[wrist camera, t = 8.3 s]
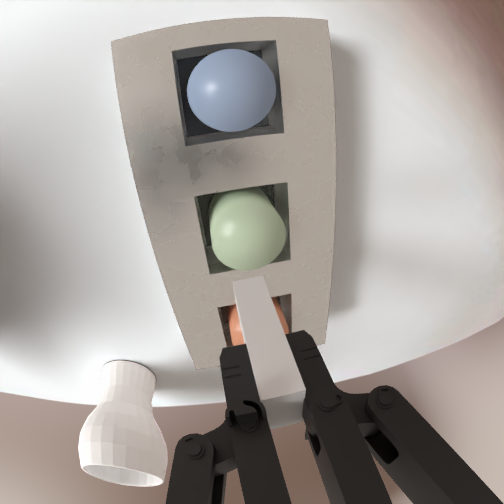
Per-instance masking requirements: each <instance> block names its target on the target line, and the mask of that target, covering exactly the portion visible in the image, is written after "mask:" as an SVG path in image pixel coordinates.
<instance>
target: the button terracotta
mask: <svg viewBox="0 0 504 504" xmlns="http://www.w3.org/2000/svg"><path fill="white" fill-rule="evenodd" d="M271 299H272V302H273V304H274V307H275V309H276V312H277V315H278V317H279V320H280V323H281V325H282V328H283V330H284V333H285V334H289V328H288V325H287V322H286V320H285V317H284V315H283V312H282V309H281V307H280V304H279V302H278V299H277V296H276V297H271ZM226 309H227V315H228V321H229V327H230V332H231V338H232V343H233V345H234V346H236V345H241V344H244V339H243V335H242V331H241V326H240V322H239V317H238V311H237V306H236V304H234V305H228V306H226Z"/></svg>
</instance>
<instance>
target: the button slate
mask: <svg viewBox="0 0 504 504" xmlns="http://www.w3.org/2000/svg"><path fill="white" fill-rule="evenodd" d="M187 97H188V102H189V105H190V107H191V109H192V111H193V113H194V114H195V115H196V117H197V118H198V119H199V120H200V121H202V122H203V123H204V124H206V125H207V126H209V127H211V128H214V129H216V130H220V131H225V132H235V131H242V130H245V129H248V128H250V127H253V126H254V125H256V124H258V123H259V122H260V121H261V120H263V119H264V118H265V117H266V115H267V114H268V113H269V112H270V110H271V108H272V106H273V104H274V101H275V97H276V83H275V79H274V76H273V73H272V71H271V70H270V68H269V67H268V65H267V64H266V63H265V62H264V61H263V60H262V59H261V58H259V57H258V56H256V55H255V54H253V53H251V52H248V51H245V50H240V49H225V50H220V51H217V52H214V53H212V54H210V55H208V56H207V57H205V58H204V59H202V60H201V61H200V62H199V63H198V64H197V65H196V67H195V68H194V69H193V71H192V73H191V75H190V77H189V80H188V85H187Z"/></svg>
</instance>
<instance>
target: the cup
mask: <svg viewBox="0 0 504 504" xmlns="http://www.w3.org/2000/svg"><path fill="white" fill-rule="evenodd" d="M155 383H156V379H155V376H154V374H153V373H152V372H151V371H150V370H149V369H147V368H146V367H144V366H142V365H140V364H137V363H134V362H130V361H121V360H117V361H111V362H109V363H107V364H105V365H104V366H103V368H102V374H101V389H102V393H101V396H100V399H99V402H98V406H97V407H96V408H95V409H94V410H93V411H92V413H91V414H90V415H89V416H88V418H87V420H86V421H85V423H84V425H83V427H82V429H81V432H80V438H79V446H78V450H79V456H80V463H81V468H82V469H83V470H84V471H85V472H86V473H88V474H90V475H92V476H94V477H96V478H100V479H102V480H105V481H109V482H113V483H117V484H123V485H129V486H156V485H160V484H162V483H163V481H164V477H165V472H166V468H167V463H168V459H167V447H166V444H165V441H164V438H163V435H162V432H161V430H160V429H159V427H158V425H157V423H156V421H155V420H154V418H153V412H152V404H151V402H152V397H153V393H154V389H155Z"/></svg>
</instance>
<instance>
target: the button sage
mask: <svg viewBox="0 0 504 504" xmlns="http://www.w3.org/2000/svg"><path fill="white" fill-rule="evenodd" d="M208 214H209V224H210V233H211V241H212V248H213V251H214V253H215V255H216V256H217V258H218V259H219V260H220V261H221V262H222V263H223V264H225V265H226V266H228V267H230V268H233V269H236V270H243V271H249V270H255V269H259V268H261V267H264V266H266V265H267V264H269V263H270V262H272V261H273V260H274V259H275V258H276V257H277V256H278V255H279V253H280V252H281V250H282V248H283V246H284V243H285V239H286V229H285V225H284V223H283V221H282V219H281V217H280V216H279V214H278V213H277V211H276V210H275V208H274V207H273V205H272V204H271V202H270V200H269V199H268V197H267V196H266V194H265V193H264V192H263V191H262V189H260V188H259V187H258V186H255V187H249V188H242V189H236V190H229V191H223V192H217V193H215V194H214V196H213V197H212V199H211V201H210V204H209V209H208Z"/></svg>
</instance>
